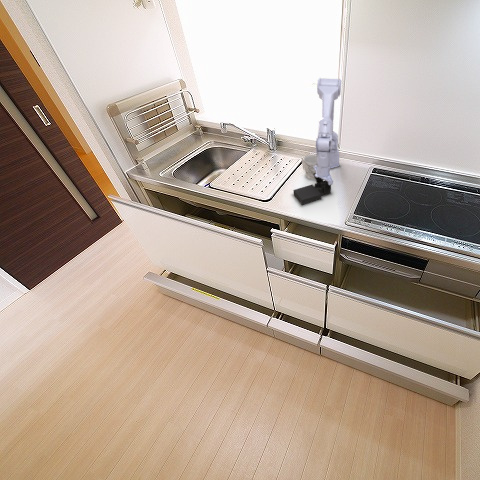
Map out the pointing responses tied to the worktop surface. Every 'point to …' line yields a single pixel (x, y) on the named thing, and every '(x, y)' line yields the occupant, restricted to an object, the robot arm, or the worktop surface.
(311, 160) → the mug
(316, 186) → the pad
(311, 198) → the base pad
